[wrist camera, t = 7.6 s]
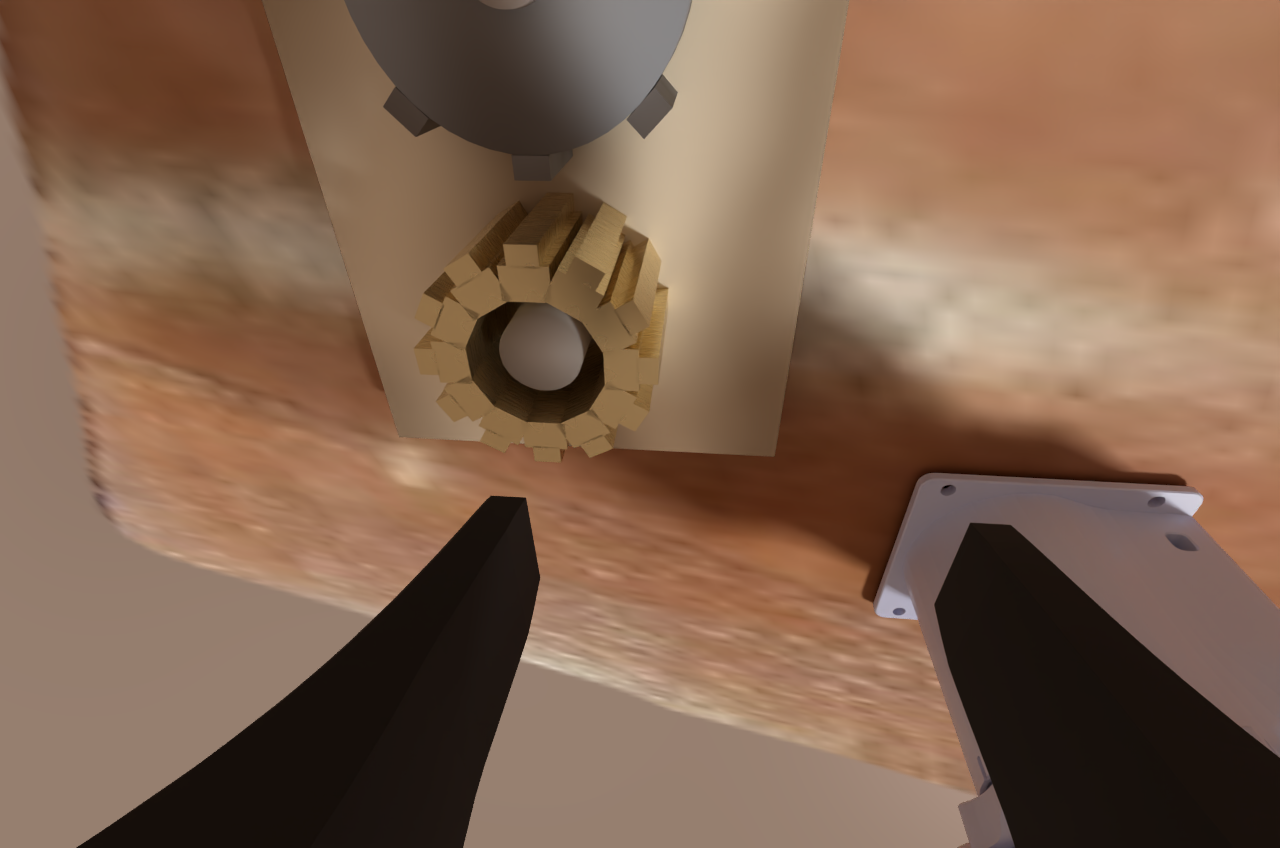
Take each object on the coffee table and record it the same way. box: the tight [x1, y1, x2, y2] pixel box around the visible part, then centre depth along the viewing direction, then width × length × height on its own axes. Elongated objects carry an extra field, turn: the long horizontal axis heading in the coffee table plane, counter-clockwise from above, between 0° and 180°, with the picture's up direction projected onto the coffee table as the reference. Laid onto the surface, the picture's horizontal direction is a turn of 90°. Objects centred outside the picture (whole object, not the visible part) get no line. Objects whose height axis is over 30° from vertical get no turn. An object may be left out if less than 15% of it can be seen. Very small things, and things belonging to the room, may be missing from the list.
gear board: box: [262, 0, 849, 457], centre depth 14 cm, size 13×17×5 cm
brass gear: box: [413, 193, 668, 462], centre depth 15 cm, size 6×6×4 cm
